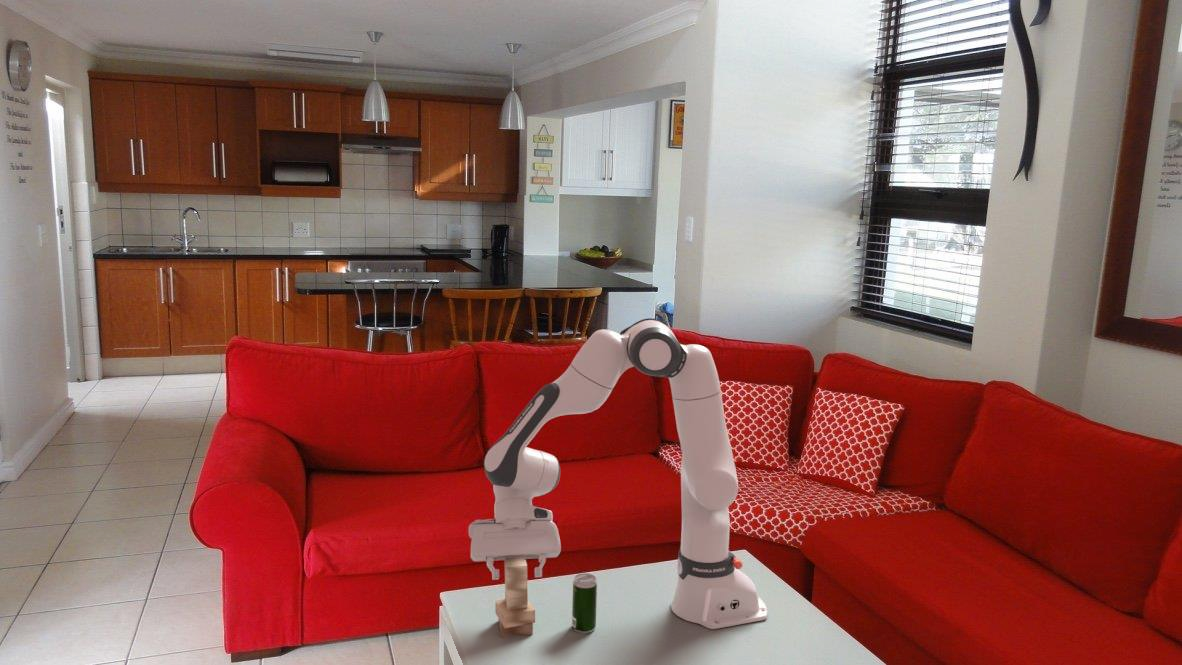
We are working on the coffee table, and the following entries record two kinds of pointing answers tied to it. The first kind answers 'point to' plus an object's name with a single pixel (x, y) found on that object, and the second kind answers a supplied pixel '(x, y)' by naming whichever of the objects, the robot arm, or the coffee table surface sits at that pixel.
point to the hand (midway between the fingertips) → (517, 577)
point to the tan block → (516, 583)
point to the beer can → (584, 603)
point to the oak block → (514, 614)
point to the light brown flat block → (516, 630)
